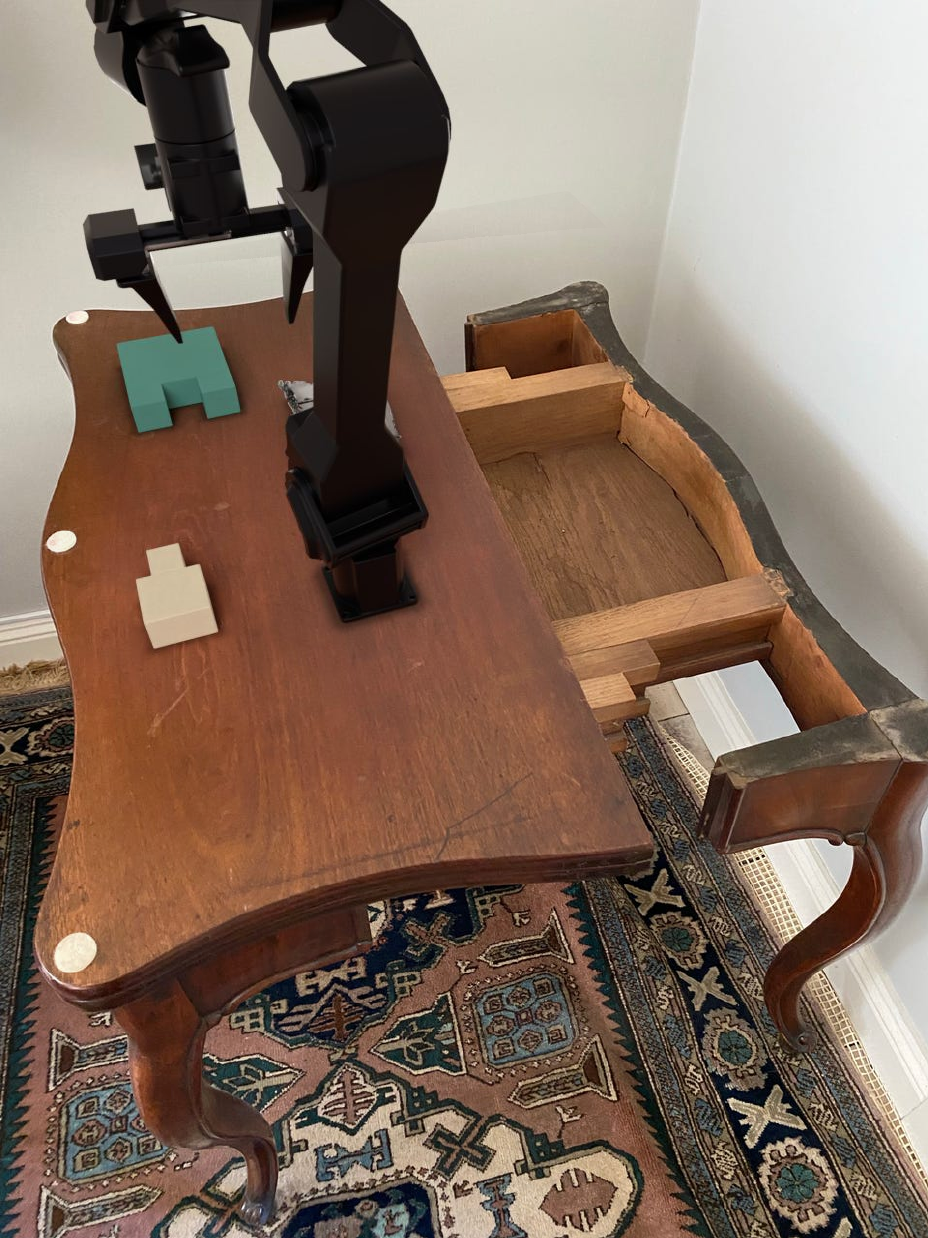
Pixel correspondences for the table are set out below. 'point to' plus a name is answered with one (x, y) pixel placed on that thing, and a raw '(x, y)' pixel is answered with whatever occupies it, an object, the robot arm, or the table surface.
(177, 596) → the cream tabbed block
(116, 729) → the table surface
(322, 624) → the table surface
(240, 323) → the table surface
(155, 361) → the teal pad
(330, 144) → the robot arm
